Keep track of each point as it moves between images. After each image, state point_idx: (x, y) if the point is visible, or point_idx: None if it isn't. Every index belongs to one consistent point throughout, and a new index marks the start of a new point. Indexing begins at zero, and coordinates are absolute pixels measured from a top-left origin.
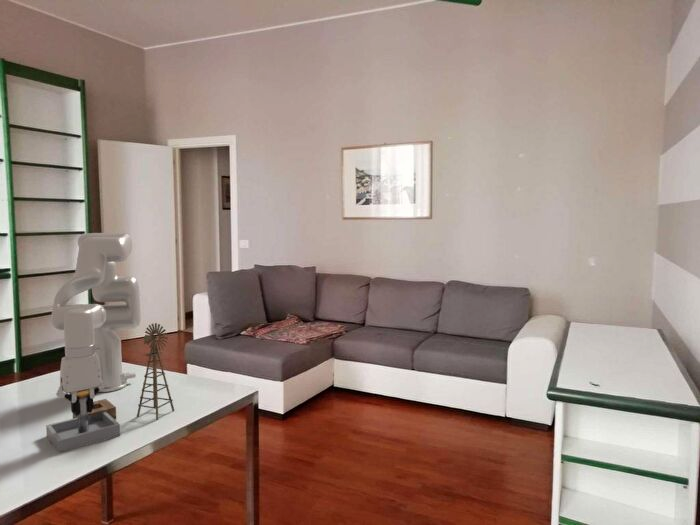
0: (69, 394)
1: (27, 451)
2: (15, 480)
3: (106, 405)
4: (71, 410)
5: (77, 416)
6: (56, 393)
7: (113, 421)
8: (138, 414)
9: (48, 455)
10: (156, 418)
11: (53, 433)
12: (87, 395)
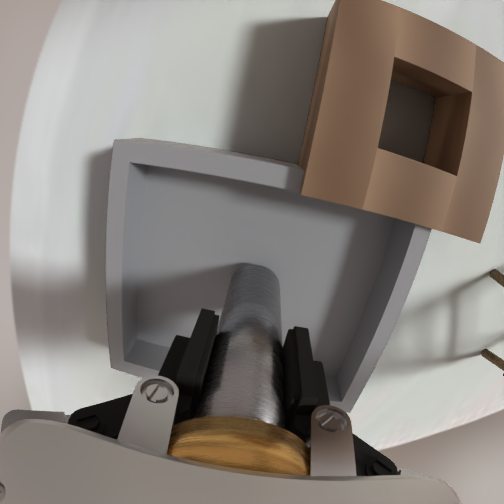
0: (124, 420)
1: (55, 238)
2: (36, 376)
3: (475, 169)
4: (175, 337)
5: (217, 329)
6: (4, 426)
7: (360, 374)
8: (496, 280)
9: (100, 329)
10: (484, 355)
11: (109, 285)
12: (297, 431)
